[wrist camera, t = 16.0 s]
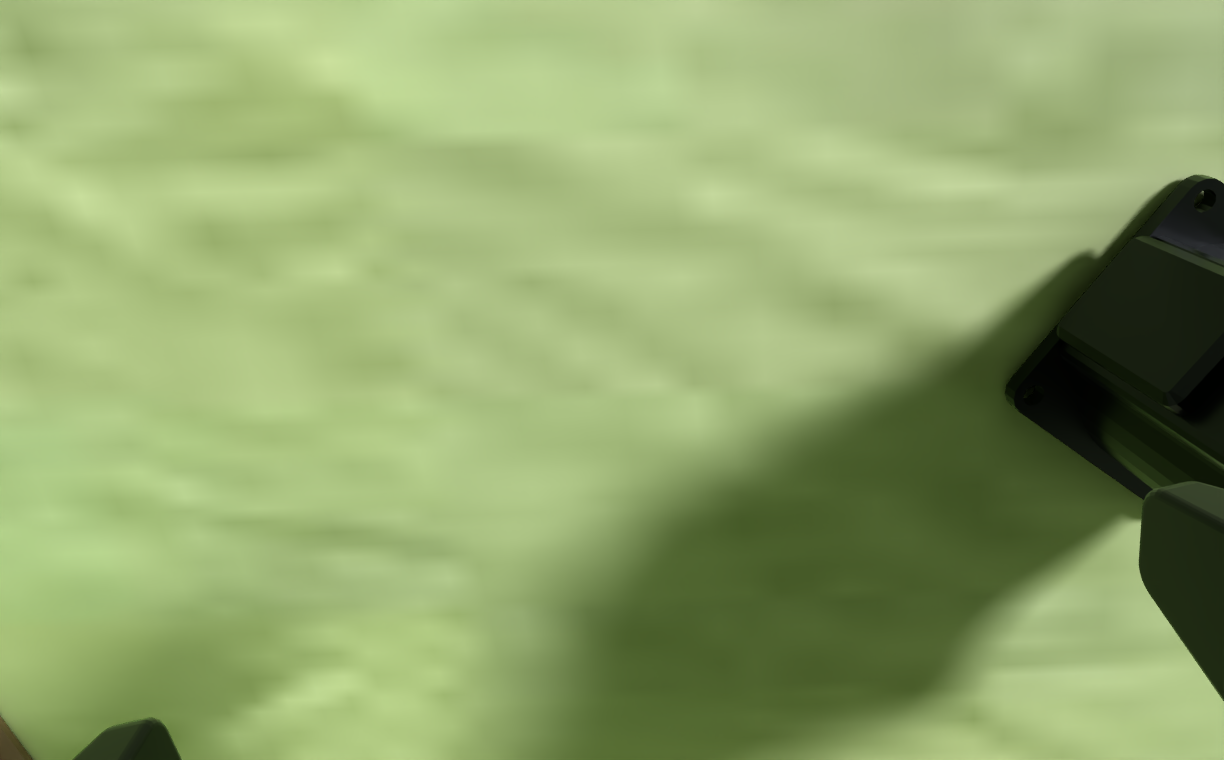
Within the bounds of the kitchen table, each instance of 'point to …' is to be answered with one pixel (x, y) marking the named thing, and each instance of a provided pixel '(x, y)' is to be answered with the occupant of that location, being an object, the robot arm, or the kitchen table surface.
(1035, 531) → the kitchen table surface
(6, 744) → the board
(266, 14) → the kitchen table surface
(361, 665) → the kitchen table surface
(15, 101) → the kitchen table surface
